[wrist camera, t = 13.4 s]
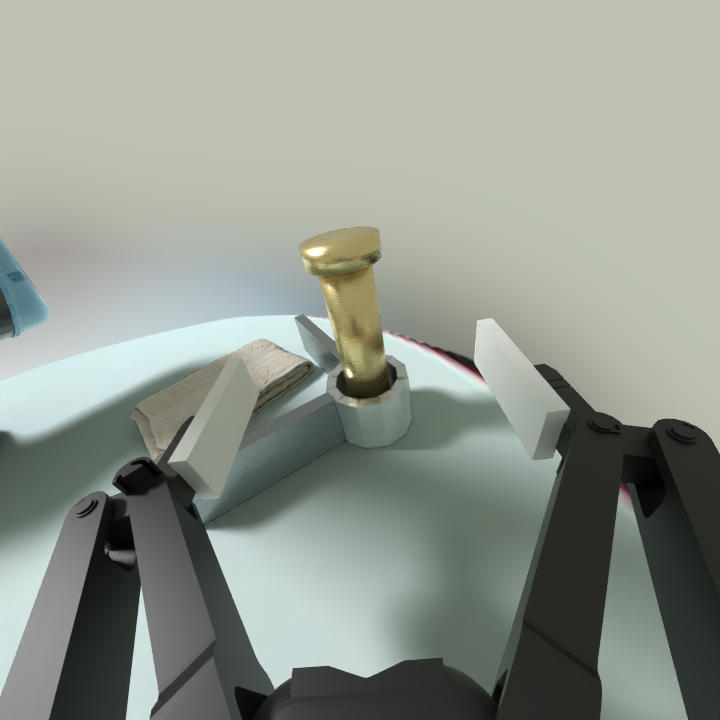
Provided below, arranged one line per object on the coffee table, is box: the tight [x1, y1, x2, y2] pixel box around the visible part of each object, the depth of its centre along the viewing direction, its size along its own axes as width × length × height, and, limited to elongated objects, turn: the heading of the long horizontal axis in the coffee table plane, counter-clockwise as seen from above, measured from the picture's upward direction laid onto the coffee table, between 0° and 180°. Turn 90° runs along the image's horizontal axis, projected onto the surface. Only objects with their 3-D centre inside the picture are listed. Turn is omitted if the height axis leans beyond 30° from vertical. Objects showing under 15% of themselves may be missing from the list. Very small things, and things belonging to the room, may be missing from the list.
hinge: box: [193, 314, 412, 525], centre depth 28 cm, size 20×20×5 cm
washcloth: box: [130, 339, 313, 463], centre depth 33 cm, size 12×18×3 cm, turn 137°
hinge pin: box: [299, 227, 390, 400], centre depth 22 cm, size 5×5×16 cm
